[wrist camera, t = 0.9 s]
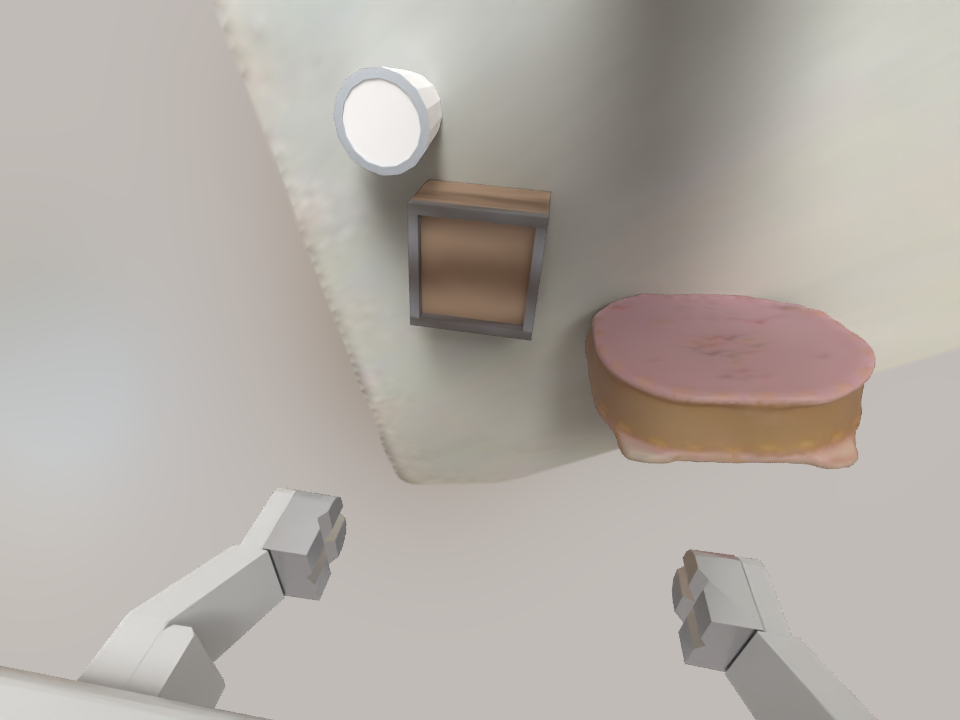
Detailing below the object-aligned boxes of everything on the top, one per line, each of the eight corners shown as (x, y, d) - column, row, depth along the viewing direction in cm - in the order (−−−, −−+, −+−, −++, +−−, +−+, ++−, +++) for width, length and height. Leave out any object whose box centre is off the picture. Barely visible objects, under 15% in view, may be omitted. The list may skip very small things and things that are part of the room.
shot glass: (368, 150, 41) (336, 169, 35) (365, 55, 37) (328, 60, 31) (447, 161, 40) (427, 182, 35) (452, 66, 36) (431, 73, 31)
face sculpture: (584, 349, 49) (591, 471, 35) (582, 287, 45) (589, 398, 32) (802, 339, 45) (905, 474, 31) (820, 271, 41) (946, 389, 27)
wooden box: (428, 179, 41) (406, 203, 36) (550, 191, 41) (548, 218, 35) (428, 289, 48) (410, 324, 42) (535, 302, 47) (531, 340, 41)
